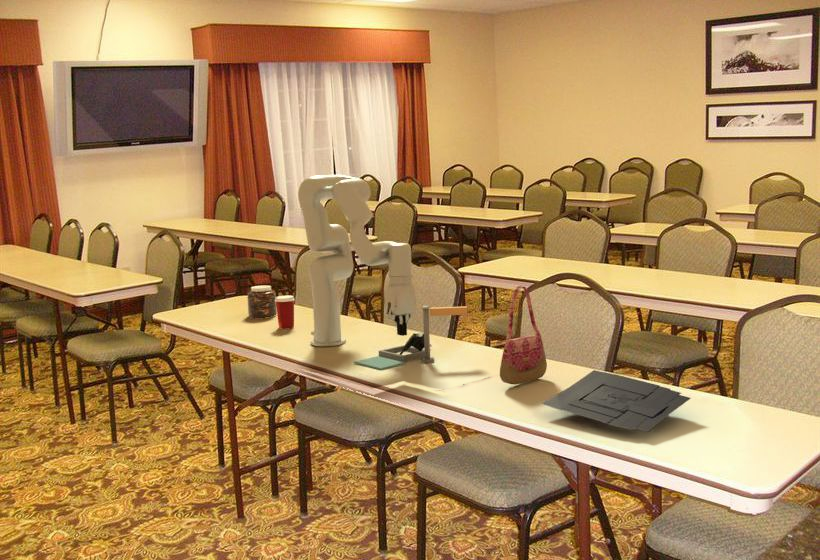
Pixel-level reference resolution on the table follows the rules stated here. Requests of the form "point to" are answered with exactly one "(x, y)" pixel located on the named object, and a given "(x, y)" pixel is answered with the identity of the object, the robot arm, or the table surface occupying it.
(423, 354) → the plug dock
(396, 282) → the robot arm
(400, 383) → the table surface
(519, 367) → the shoulder bag
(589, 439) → the table surface
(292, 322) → the paper cup
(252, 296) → the jar
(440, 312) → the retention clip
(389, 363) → the mat
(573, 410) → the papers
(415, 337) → the power plug
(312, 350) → the table surface
